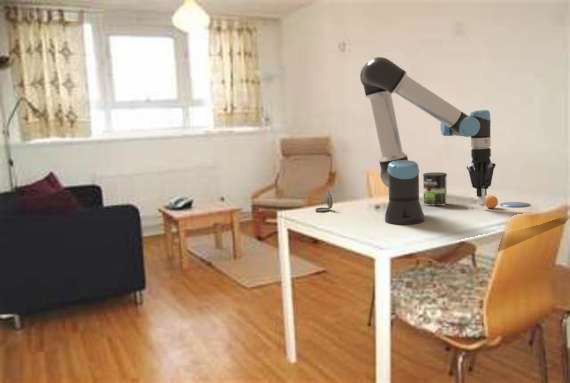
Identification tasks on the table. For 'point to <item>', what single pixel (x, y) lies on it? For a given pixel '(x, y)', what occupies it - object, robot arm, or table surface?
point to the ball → (491, 201)
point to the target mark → (515, 204)
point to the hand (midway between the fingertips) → (481, 204)
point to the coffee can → (435, 188)
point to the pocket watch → (329, 203)
